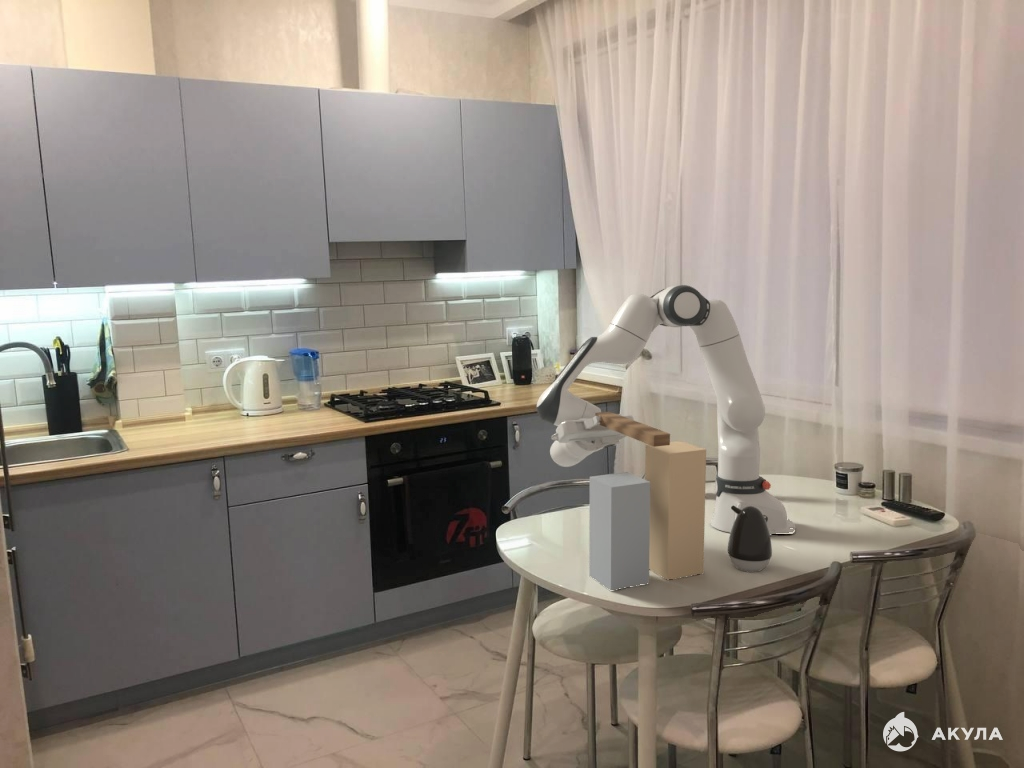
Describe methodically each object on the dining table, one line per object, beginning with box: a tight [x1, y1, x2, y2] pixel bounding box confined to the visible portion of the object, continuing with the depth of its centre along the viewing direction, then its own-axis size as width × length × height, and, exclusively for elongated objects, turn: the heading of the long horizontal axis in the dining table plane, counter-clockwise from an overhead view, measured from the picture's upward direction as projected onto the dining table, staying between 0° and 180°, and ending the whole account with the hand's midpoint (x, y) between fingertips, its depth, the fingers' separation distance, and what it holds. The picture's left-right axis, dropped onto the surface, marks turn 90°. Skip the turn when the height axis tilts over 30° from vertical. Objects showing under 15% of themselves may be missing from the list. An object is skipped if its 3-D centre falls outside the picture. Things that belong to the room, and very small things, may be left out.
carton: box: [644, 440, 707, 581], centre depth 192 cm, size 10×10×30 cm
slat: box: [595, 411, 671, 447], centre depth 187 cm, size 26×4×2 cm, turn 23°
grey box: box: [588, 471, 650, 591], centre depth 187 cm, size 10×10×24 cm
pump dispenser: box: [727, 505, 773, 573], centre depth 194 cm, size 10×10×15 cm
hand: (609, 417), depth 196 cm, fingers closed on slat, 4 cm apart
